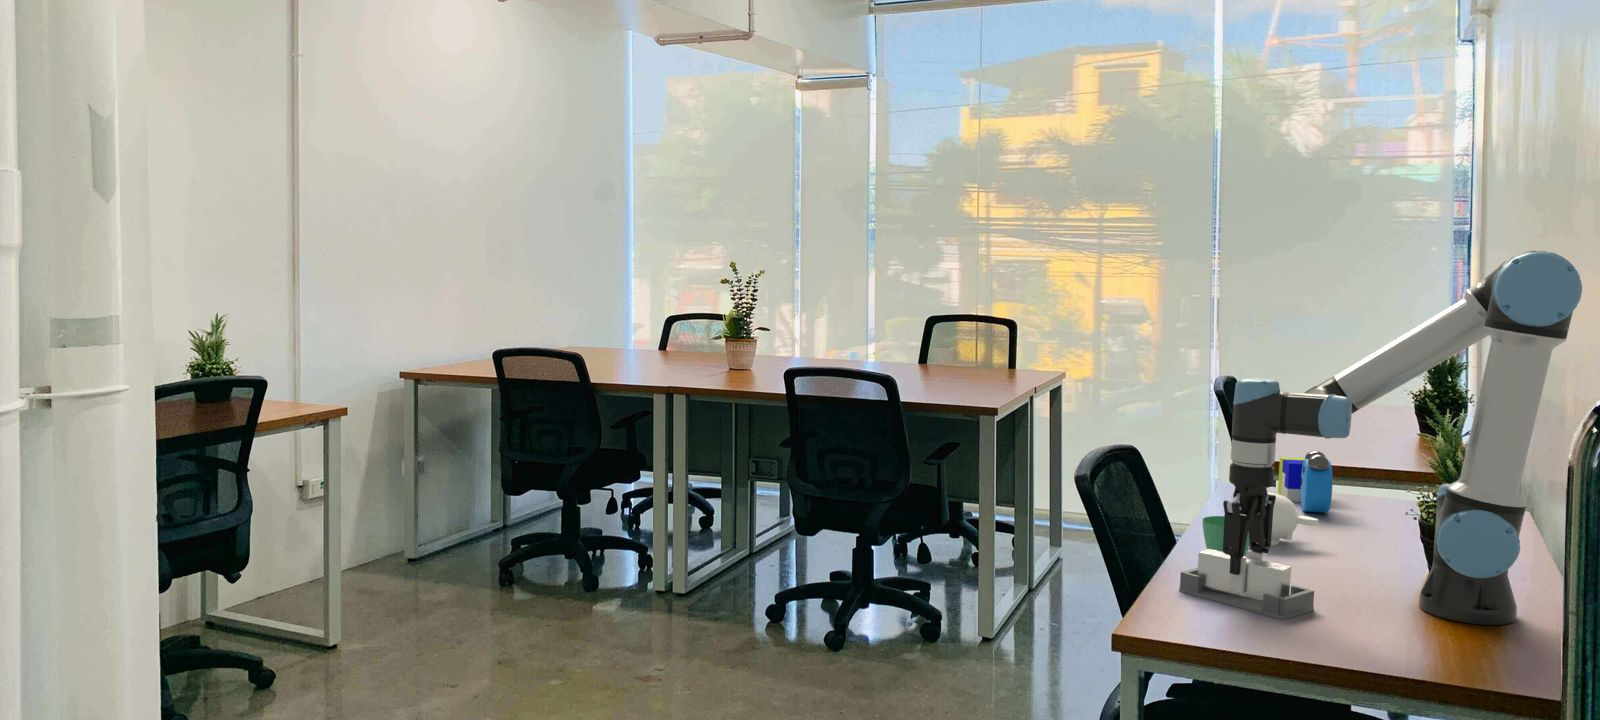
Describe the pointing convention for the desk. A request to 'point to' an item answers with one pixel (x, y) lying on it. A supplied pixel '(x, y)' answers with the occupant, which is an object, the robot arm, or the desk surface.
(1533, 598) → the desk surface
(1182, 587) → the end caps
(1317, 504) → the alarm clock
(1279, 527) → the piggy bank
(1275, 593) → the white rectangular block
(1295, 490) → the puzzle toy
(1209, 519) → the mug
